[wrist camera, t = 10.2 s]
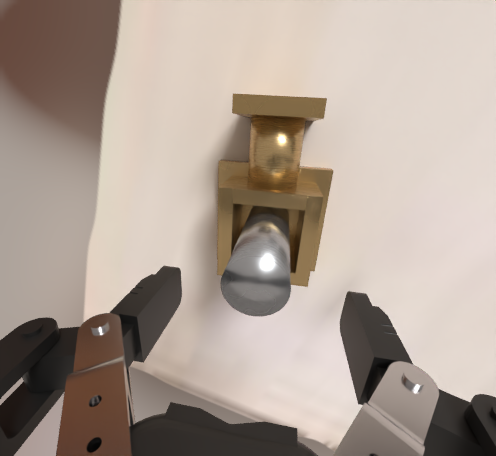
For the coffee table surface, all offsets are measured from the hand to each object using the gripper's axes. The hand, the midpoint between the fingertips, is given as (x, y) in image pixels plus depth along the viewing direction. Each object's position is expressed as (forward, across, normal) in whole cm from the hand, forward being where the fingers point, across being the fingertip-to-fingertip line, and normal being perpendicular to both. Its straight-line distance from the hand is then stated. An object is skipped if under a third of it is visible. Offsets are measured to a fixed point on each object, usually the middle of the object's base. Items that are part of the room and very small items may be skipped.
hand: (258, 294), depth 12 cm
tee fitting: (+11, 0, -2) cm, 11 cm away
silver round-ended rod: (+10, 0, 0) cm, 10 cm away
